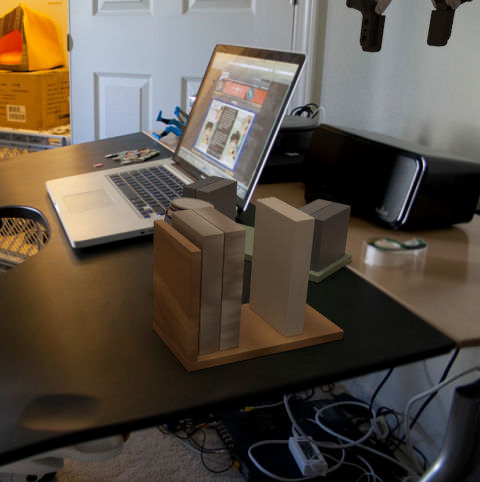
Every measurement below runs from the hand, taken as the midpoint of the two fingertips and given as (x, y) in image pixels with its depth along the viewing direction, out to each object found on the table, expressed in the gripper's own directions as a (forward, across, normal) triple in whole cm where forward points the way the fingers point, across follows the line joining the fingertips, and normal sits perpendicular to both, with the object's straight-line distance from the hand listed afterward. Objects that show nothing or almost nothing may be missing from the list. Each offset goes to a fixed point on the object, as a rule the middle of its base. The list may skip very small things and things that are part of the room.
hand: (403, 48), depth 69 cm
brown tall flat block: (+27, +17, +6) cm, 33 cm away
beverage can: (+28, +23, -6) cm, 37 cm away
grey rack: (+28, +7, -14) cm, 32 cm away
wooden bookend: (+28, +21, +6) cm, 35 cm away
